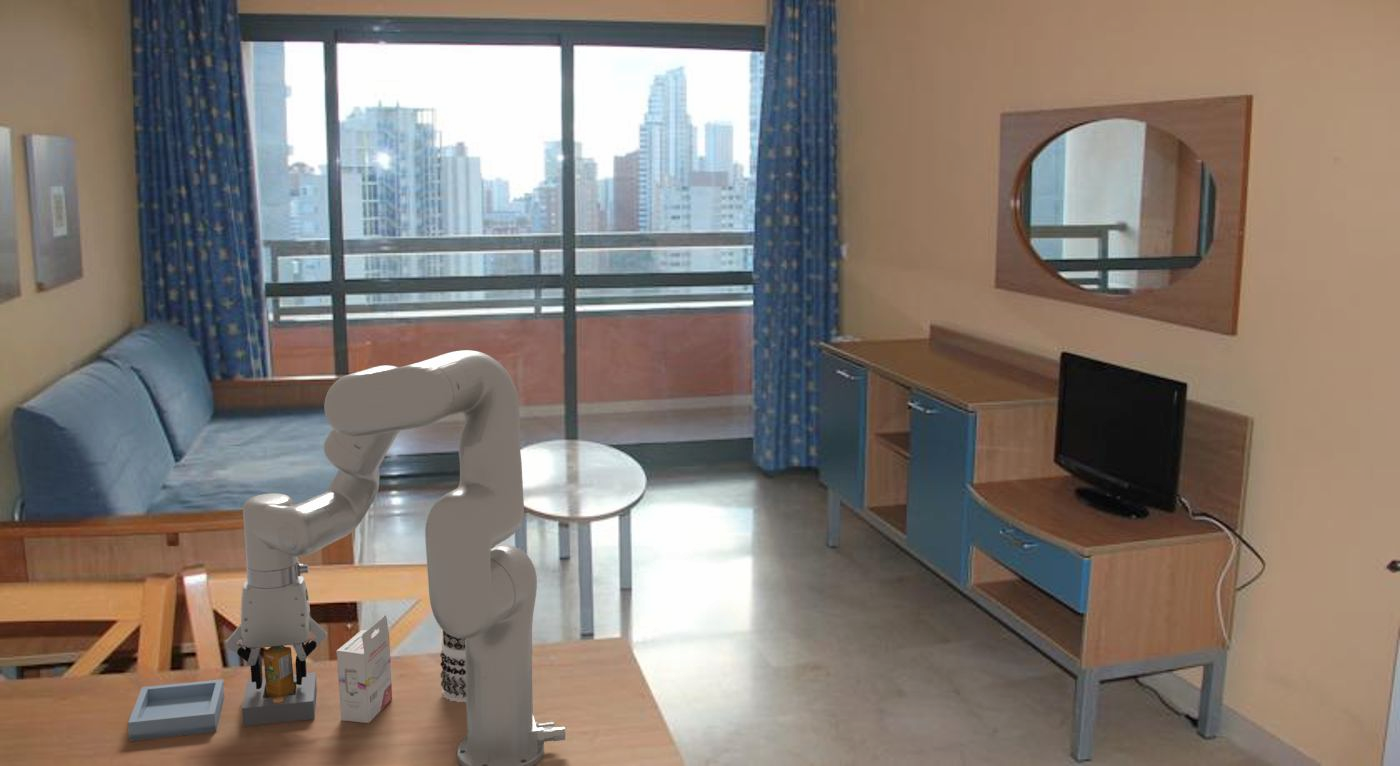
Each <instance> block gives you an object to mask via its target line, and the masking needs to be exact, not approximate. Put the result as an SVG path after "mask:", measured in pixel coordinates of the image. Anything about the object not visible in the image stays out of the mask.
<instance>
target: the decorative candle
mask: <svg viewBox="0 0 1400 766" xmlns="http://www.w3.org/2000/svg"><path fill="white" fill-rule="evenodd" d="M440 629H441V630H442V641H441V651H440V654H439V656H440V658H441V662H440V666H441V669H442V670H441V672H440V677H441V681H440V685H441V687H442V689H441V695H442V694H443V695H444V696H443V695H442V696H443V698H444V697H445V698H447V699H446V700H448V699H449V700H448V701H450V700H452V701H451V702H453V701H459V702H466V669H465V639H461V638H456V637H453V636H451V635H449V634H448V633H446V632H445V631H444V630H443V629H442V628H441V627H440ZM445 698H444V699H445ZM459 702H458V703H459Z"/></svg>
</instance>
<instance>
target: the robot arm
mask: <svg viewBox="0 0 1400 766" xmlns="http://www.w3.org/2000/svg"><path fill="white" fill-rule="evenodd" d="M323 406H324V407H323V408H324V409H323V410H324V415H325V418H326V420H327V422H328V424H329V426H331V429H330V432H329V434H328V435H327V437H326V439H325V440H324V444H323V452H324V455H325V457H326V459H327V460H328V462H329V463H330V464H331V465H332V466H333V467H334V468H336V469H338V471H337V473H336V475H335V476H334V478H333V480H332V481H331V483H330V485H329V486H328V487H327V489H326V491H324V493H321V494H318V495H315V496H313V497H311V498H309V499H307V500H305V501H302V502H300V503H295V502H294V500H293V499H292V497H290V496H289V495H287V494H283V493H274V492H273V493H263V494H258V495H255V496H252V497H250V498H248V499H247V500H246V501H245V502H244V504H243V507H242V518H243V519H242V520H243V532H244V548H245V563H246V567H245V568H246V580H245V581H244V582H242V588H241V590H242V591H241V601H240V624H239V625H238V626H237V627H236V629H235V630H234V631H233V632H232V633H231V635H229V637H228V638H227V639H226V642H225V647H226V648H227V649H228V650H230V651H232V652H233V653H236V654H237V656H239V657H240V658H241V659H243V660H244V661H245V662H247V664H248V665H249V666H250V679H251V680H252V682H256V689H260V688H261V687H262V681H263V666H262V665H263V664H262V658H261V657H260V655H259V654H260V651H261V649H262V648H270V647H274V646H285V647H286V646H292V647H293V649H294V651H295V653H296V655H295V674H296V681H297V684H298V685H302V677H306V673H307V657H309V655H310V654H311V653H312V652H313V651H314V650H315V649H317V647H318V646H320V644H321V643H323V641H324V640H325V639H327V637H328V632H327V630H325V628H324V627H323V626H321V625H320V624H319V623H318V622H316V620H315V619H313V618H312V616H311V609H310V608H311V607H310V601H309V600H310V599H309V593H308V589H307V588H308V587H307V585H306V580H305V577H304V576H302V575H304V574H308V573H309V564H308V563H307V564H303V563H301V562H300V561H299V558H298V557H305V556H309V555H311V554H313V553H315V552H317V551H320V550H321V549H324V548H325V547H326V546H329V545H330V544H333V543H336V541H339V540H341V539H343V538H345V537H348V536H349V535H350V534H352V532H354V531H355V530H356V529H357V528H358V527H359V525H361V523H362V521H363V520H364V518H365V517H366V514H367V513H368V512H369V510H370V508H371V506H372V505H373V503H374V501H375V500H376V498H377V495H378V492H379V488H380V469H379V467H380V465H381V464H382V462H383V460H384V459H385V457H386V455H387V453H388V451H389V450H390V448H391V446H392V445H393V443H394V441H395V440H396V438H397V436H398V435H399V433H400V431H405V430H412V429H417V428H418V429H419V428H423V427H427V426H431V425H434V424H437V423H439V422H442V421H445V420H447V419H449V418H452V417H454V416H456V415H459V414H462V415H464V420H463V426H462V429H461V433H460V439H459V443H458V444H459V445H458V459H459V484H458V486H457V488H455V489H453V490H451V491H449V492H447V493H445V494H444V495H443V496H441V497H440V498H439V499H438V500H436V502H435V503H434V504H433V505H432V506H431V509H430V511H429V513H428V514H427V515H428V516H427V519H426V523H425V528H424V529H425V532H424V533H425V534H424V536H425V537H424V538H425V553H426V554H425V555H426V569H427V570H426V572H427V582H428V583H427V584H428V595H429V602H430V608H431V612H432V614H433V617H434V619H435V621H436V623H437V625H439V627H440V629H441V628H442V629H443V630H444V631H445V632H446V633H448V634H449V635H451V636H453V637H456V638H461V639H465V669H466V737H465V738H463V740H462V741H461V742H460V743H459V744H458V746H457V749H456V758H457V759H456V760H457V761H458V764H459V765H461V766H534V765H536V764H538V762H540V761H541V759H543V756H544V753H545V742H559V741H566V729H565V726H556V727H555V722H554V721H547V722H543V723H542V722H541V723H539V722H538V721H535V717H534V715H533V709H534V708H533V704H534V703H533V660H532V659H533V657H532V656H533V622H534V611H535V604H536V598H537V589H538V578H537V571H536V568H535V565H534V563H533V561H532V559H531V558H530V557H529V556H528V554H527V553H526V552H525V551H523V550H522V549H520V548H518V547H516V546H513V545H510V544H509V545H508V544H502V543H503V542H505V541H507V540H508V539H509V538H511V537H512V536H513V535H514V534H516V533H517V532H518V530H519V529H520V528H521V527H522V524H523V521H524V517H525V506H524V505H525V501H524V487H523V486H524V484H523V482H524V481H523V466H522V465H523V464H522V454H521V452H522V451H521V439H520V438H521V435H520V431H521V429H520V428H521V424H520V422H521V421H520V420H521V419H520V418H521V416H520V415H521V413H520V411H521V410H520V399H519V395H518V390H517V388H516V384H515V382H514V380H513V378H512V376H511V375H510V373H509V372H508V370H507V369H506V368H505V367H504V366H503V365H502V364H501V363H500V362H499V361H498V360H496V359H495V358H493V357H492V356H491V355H488V354H486V353H484V352H481V351H477V350H472V349H471V350H470V349H467V350H465V349H463V350H456V351H450V352H447V353H443V354H440V355H437V356H433V357H432V358H427V359H424V360H421V361H417V362H415V363H411V364H408V365H404V366H395V365H389V364H388V365H376V366H374V367H370V368H366V369H363V370H360V371H356V372H353V373H349V374H347V375H344V376H341V377H340V378H338V379H337V380H336V381H335V382H333V384H332V385H331V386H330V387H329V389H328V390H327V393H326V396H325V398H324V403H323ZM442 629H441V630H442ZM443 630H442V631H443ZM311 633H312V634H314V636H313V637H312V638H310V634H311ZM240 639H241V642H240Z"/></svg>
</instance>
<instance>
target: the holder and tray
mask: <svg viewBox="0 0 1400 766" xmlns="http://www.w3.org/2000/svg"><path fill="white" fill-rule="evenodd" d="M262 678H263V681H262V687H261V688H260V689H256V682H252V680H251V678H247V683H246V687H245V693H244V697H243V701H242V706H241V714H242V716H241V717H242V727H253V726H261V725H269V724H279V723H290V722H297V721H298V722H299V721H309V720H314V719H315V715H316V705H317V704H316V703H317V692H318V688H317V687H318V686H317V672H316V671H315V672H306V677H302V685H298V684H297V681H296V673H293V678H294V689H295V695H290V696H280V697H270V698H267V693H266V679H265V677H263V676H262ZM224 684H225V683H224V679H223V678H221V679H213V680H203V681H192V682H191V681H190V682H181V683H170V684H161V685H160V684H159V685H150V686H142V687H141V688H140V692H139V694H138V697H137V699H136V702H135V703H134V707H133V709H132V711H131V714H130V717H129V719H128V723H127V725H128V736H129V741H130V740H136V741H141V740H140V739H143V740H142V741H144V739H145V740H152V739H153V740H154V738H155V739H162V738H172V736H173V737H181V735H183V736H190V735H198V734H208V733H216V732H217V729H218V726H219V725H218V724H219V721H220V716H221V712H222V709H223V706H224V705H223V704H224V700H225V685H224ZM179 735H180V736H179Z"/></svg>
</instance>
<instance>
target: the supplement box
mask: <svg viewBox="0 0 1400 766" xmlns="http://www.w3.org/2000/svg"><path fill="white" fill-rule="evenodd" d="M262 654H263V663H264V664H263V666H264V676H265V679H266V693H267V698H270V697H280V696H290V695H295V689H294V678H293V675H294V670H293V656H292V647H291V646H290V647H289V646H286V645H285V646H274V647H267V649H265V650H263V653H262Z"/></svg>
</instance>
